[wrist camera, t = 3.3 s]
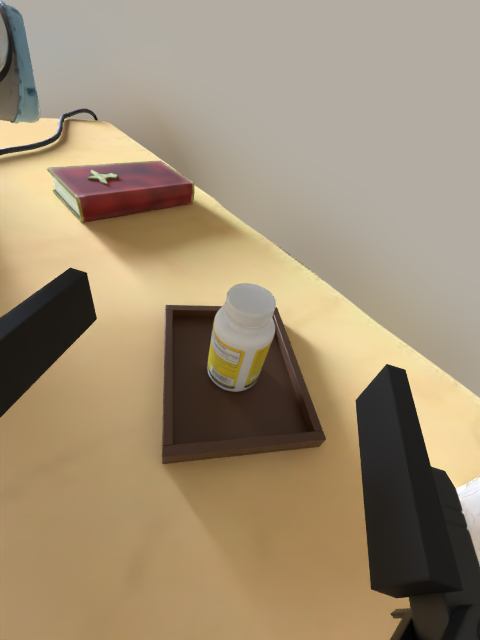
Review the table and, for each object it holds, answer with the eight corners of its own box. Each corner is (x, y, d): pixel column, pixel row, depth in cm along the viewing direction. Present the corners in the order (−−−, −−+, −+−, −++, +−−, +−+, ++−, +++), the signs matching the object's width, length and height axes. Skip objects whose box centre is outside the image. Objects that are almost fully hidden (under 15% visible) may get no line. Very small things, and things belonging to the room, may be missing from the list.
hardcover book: (193, 204, 56) (195, 182, 53) (82, 223, 44) (76, 196, 41) (160, 180, 61) (160, 159, 58) (53, 192, 49) (46, 165, 46)
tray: (165, 314, 33) (165, 304, 32) (273, 316, 37) (277, 307, 36) (162, 464, 22) (162, 456, 21) (319, 446, 25) (326, 439, 24)
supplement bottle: (253, 349, 32) (276, 279, 25) (262, 392, 28) (293, 324, 21) (204, 349, 30) (215, 275, 24) (208, 394, 27) (222, 322, 20)
